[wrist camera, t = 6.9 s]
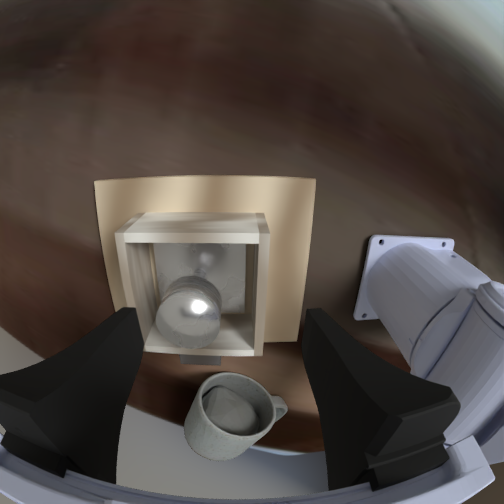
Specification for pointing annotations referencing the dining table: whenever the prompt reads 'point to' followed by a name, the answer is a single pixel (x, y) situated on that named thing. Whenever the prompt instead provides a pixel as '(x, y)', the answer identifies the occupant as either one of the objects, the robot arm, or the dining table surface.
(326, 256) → the dining table surface
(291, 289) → the base
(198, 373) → the dining table surface
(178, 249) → the plunger
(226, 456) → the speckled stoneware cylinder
